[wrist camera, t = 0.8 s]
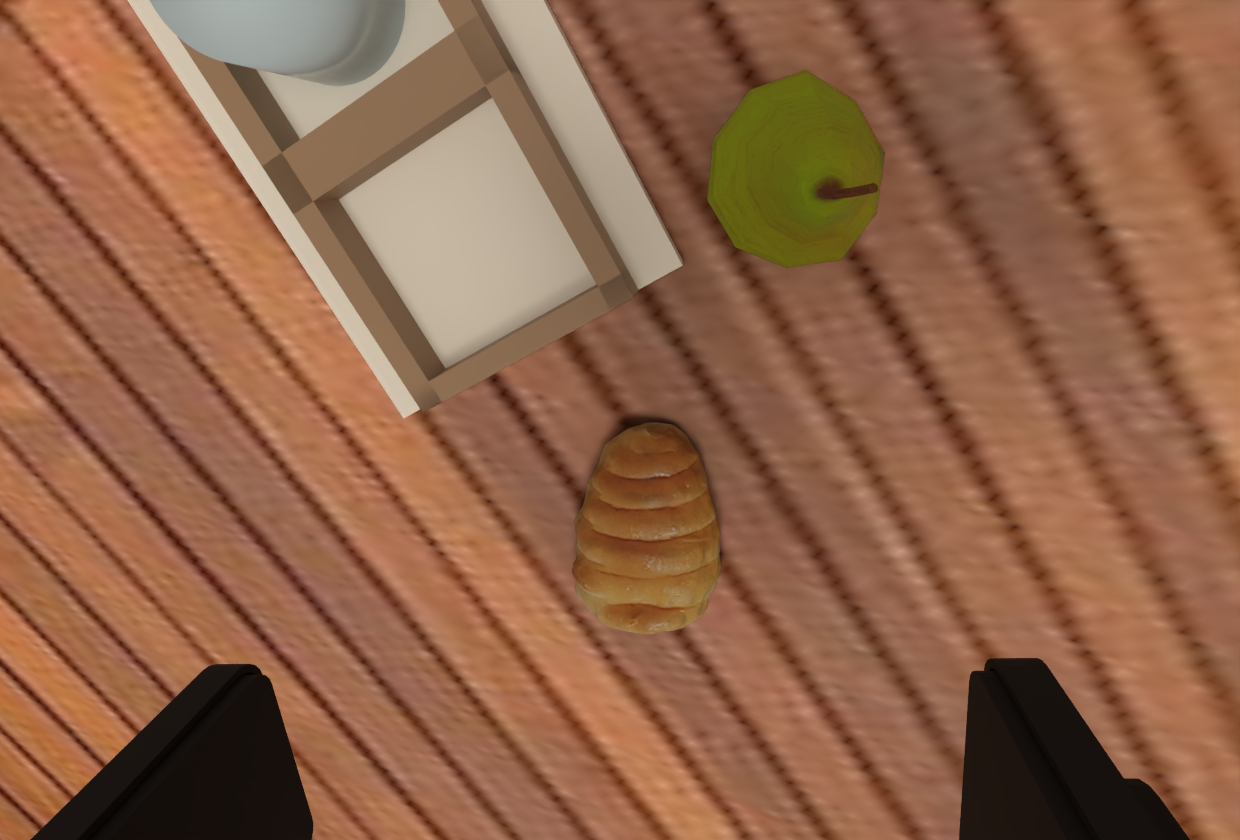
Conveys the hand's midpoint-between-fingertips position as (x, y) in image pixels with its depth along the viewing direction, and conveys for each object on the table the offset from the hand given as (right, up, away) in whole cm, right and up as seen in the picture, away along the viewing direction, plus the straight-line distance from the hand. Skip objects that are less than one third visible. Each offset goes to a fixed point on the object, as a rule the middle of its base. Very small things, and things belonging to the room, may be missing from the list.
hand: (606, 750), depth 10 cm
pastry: (+1, 0, +25) cm, 25 cm away
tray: (-8, +16, +20) cm, 27 cm away
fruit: (+7, +14, +19) cm, 24 cm away
